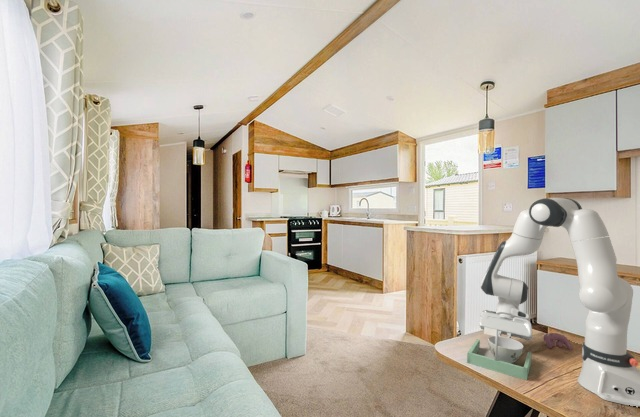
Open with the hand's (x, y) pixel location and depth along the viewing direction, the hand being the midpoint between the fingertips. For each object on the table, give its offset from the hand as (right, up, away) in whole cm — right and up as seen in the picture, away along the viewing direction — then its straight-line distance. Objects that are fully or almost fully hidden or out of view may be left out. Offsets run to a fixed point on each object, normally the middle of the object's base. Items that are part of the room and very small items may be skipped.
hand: (503, 343), depth 137 cm
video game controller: (+29, -6, +8) cm, 31 cm away
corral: (-5, -5, -7) cm, 10 cm away
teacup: (-3, -5, -5) cm, 7 cm away
